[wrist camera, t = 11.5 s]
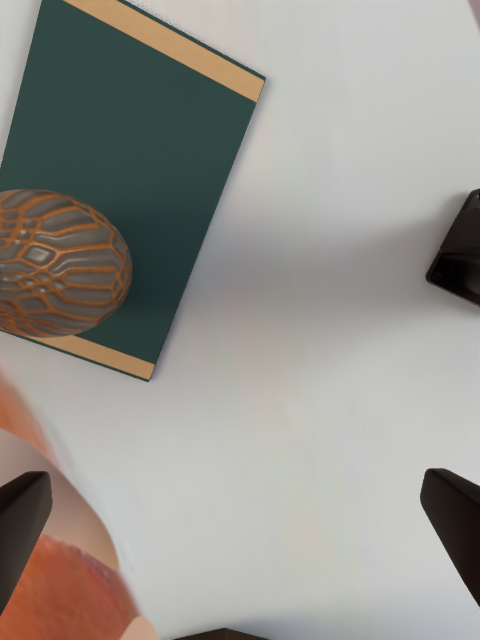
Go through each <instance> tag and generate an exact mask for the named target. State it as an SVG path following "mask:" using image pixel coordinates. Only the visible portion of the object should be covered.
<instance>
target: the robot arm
mask: <svg viewBox="0 0 480 640" xmlns="http://www.w3.org/2000/svg"><path fill="white" fill-rule="evenodd" d="M478 195H479V200H478V199H477V196H478ZM435 273H436V278H435V279H434V275H435ZM426 280H427V282H429V283H430V284H432V285H434V286H437V287H439V288H441V289H443V290H445V291H447V292H449V293H451V294H453V295H456V296H458V297H460V298H462V299H464V300H466V301H468V302H470V303H472V304H475V305H477V306H479V307H480V189H476V190H473V191H472V192H471V193H470V194H469V196H468V198H467V200H466V202H465V203H464V205H463V207H462V209H461V211H460V213H459V214H458V215H457V217H456V219H455V221H454V223H453V225H452V226H451V228H450V230H449V232H448V234H447V236H446V238H445V239H444V241H443V243H442V245H441V247H440V250H439V252H438V254H437V255H436V257H435V259H434V261H433V263H432V265H431V267H430V268H429V270H428V272H427V274H426ZM420 501H421V504H422V507H423V509H424V511H425V513H426V515H427V516H428V518H429V520H430V522H431V524H432V526H433V527H434V529H435V531H436V533H437V535H438V536H439V538H440V540H441V542H442V544H443V546H444V547H445V549H446V551H447V553H448V555H449V557H450V558H451V560H452V562H453V564H454V566H455V568H456V569H457V571H458V573H459V575H460V576H461V578H462V580H463V582H464V583H465V585H466V586H467V588H468V590H469V591H470V593H471V595H472V596H473V598H474V599H475V601H476V602H477V604H478V605H479V607H480V486H478V485H476V484H474V483H472V482H470V481H468V480H467V479H465V478H463V477H461V476H459V475H457V474H455V473H453V472H451V471H449V470H447V469H443V468H430V469H427V471H426V472H425V475H424V479H423V484H422V489H421V493H420ZM52 503H53V500H52V490H51V480H50V475H49V473H48V472H46V471H29V472H26V473H24V474H22V475H20V476H19V477H17V478H15V479H14V480H12V481H10V482H8V483H7V484H5V485H3V486H2V487H0V616H1V614H2V612H3V610H4V609H5V607H6V605H7V603H8V601H9V599H10V597H11V595H12V593H13V591H14V589H15V587H16V585H17V583H18V581H19V579H20V577H21V575H22V573H23V570H24V568H25V566H26V564H27V562H28V560H29V558H30V555H31V553H32V551H33V549H34V547H35V545H36V543H37V541H38V538H39V536H40V534H41V532H42V530H43V527H44V526H45V523H46V521H47V519H48V517H49V515H50V512H51V509H52Z"/></svg>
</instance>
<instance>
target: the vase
mask: <svg viewBox="0 0 480 640" xmlns="http://www.w3.org/2000/svg"><path fill="white" fill-rule="evenodd" d="M131 281H132V260H131V255H130V252H129V249H128V246H127V244H126V242H125V240H124V238H123V237H122V235H121V234H120V232H119V231H118V230H117V228H116V227H115V226H114V225H113V224H112V222H111V221H110V220H109V219H108V218H106V217H105V216H104V215H103V214H102V213H100V212H99V211H97V210H96V209H94V208H93V207H91V206H89V205H88V204H86V203H84V202H82V201H80V200H78V199H75V198H73V197H70V196H67V195H64V194H61V193H58V192H53V191H48V190H41V189H17V190H8V191H3V192H0V329H1V330H4V331H6V332H9V333H13V334H17V335H22V336H27V337H37V338H54V337H64V336H69V335H74V334H78V333H81V332H84V331H86V330H89V329H91V328H93V327H95V326H97V325H98V324H100V323H102V322H103V321H105V320H106V319H107V318H109V317H110V316H111V315H112V314H113V313H114V312H115V311H116V310H117V309H118V308H119V307H120V306H121V304H122V303H123V301H124V299H125V298H126V296H127V294H128V291H129V289H130V285H131Z"/></svg>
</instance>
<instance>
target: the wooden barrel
mask: <svg viewBox="0 0 480 640" xmlns="http://www.w3.org/2000/svg"><path fill="white" fill-rule="evenodd" d="M176 640H268V639H264V638H260V637H256V636H252V635H249V634H245V633H241V632H237V631H233V630H229V629H226V628H224V629H219V630H215V631H211V632H206V633H202V634H198V635H193V636H189V637H185V638H180V639H176Z"/></svg>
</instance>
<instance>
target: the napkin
mask: <svg viewBox="0 0 480 640" xmlns="http://www.w3.org/2000/svg"><path fill="white" fill-rule="evenodd" d="M265 79H266V77H264V76H262V75H260V74H259V73H257V72H255V71H253V70H251V69H249V68H248V67H246V66H244V65H242V64H240V63H238V62H237V61H235V60H233V59H231V58H229V57H227V56H226V55H224V54H222V53H220V52H218V51H217V50H215V49H213V48H211V47H209V46H207V45H206V44H204V43H202V42H200V41H198V40H196V39H195V38H193V37H191V36H189V35H187V34H185V33H184V32H182V31H180V30H178V29H176V28H174V27H173V26H171V25H169V24H167V23H165V22H163V21H162V20H160V19H158V18H156V17H154V16H153V15H151V14H149V13H147V12H145V11H143V10H142V9H140V8H138V7H136V6H134V5H132V4H131V3H129V2H127V1H125V0H42V2H41V6H40V10H39V14H38V18H37V22H36V27H35V31H34V35H33V39H32V43H31V47H30V51H29V55H28V59H27V63H26V67H25V71H24V75H23V79H22V83H21V87H20V91H19V95H18V99H17V103H16V107H15V111H14V115H13V119H12V123H11V128H10V132H9V136H8V140H7V144H6V148H5V152H4V156H3V160H2V164H1V168H0V192H3V191H8V190H17V189H41V190H48V191H53V192H58V193H61V194H64V195H67V196H70V197H73V198H75V199H78V200H80V201H82V202H84V203H86V204H88V205H89V206H91V207H93V208H94V209H96V210H97V211H99V212H100V213H102V214H103V215H104V216H105V217H106V218H108V219H109V220H110V221H111V222H112V224H113V225H114V226H115V227H116V228H117V230H118V231H119V232H120V234H121V235H122V237H123V238H124V240H125V242H126V244H127V246H128V249H129V252H130V255H131V260H132V281H131V285H130V289H129V291H128V294H127V296H126V298H125V299H124V301H123V303H122V304H121V306H120V307H119V308H118V309H117V310H116V311H115V312H114V313H113V314H112V315H111V316H110V317H109V318H107V319H106V320H105V321H103V322H102V323H100V324H98V325H97V326H95V327H93V328H91V329H89V330H86V331H84V332H81V333H78V334H74V335H69V336H64V337H54V338H37V337H27V336H22V335H17V334H13V333H9V332H6V331H4V330H1V329H0V331H3V332H5V333H8V334H11V335H14V336H17V337H20V338H23V339H25V340H28V341H31V342H34V343H37V344H40V345H43V346H46V347H48V348H51V349H54V350H57V351H60V352H63V353H66V354H69V355H71V356H74V357H77V358H80V359H83V360H86V361H89V362H92V363H94V364H97V365H100V366H103V367H106V368H109V369H112V370H115V371H117V372H120V373H123V374H126V375H129V376H132V377H135V378H138V379H140V380H143V381H146V382H149V380H150V377H151V375H152V372H153V369H154V367H155V364H156V362H157V359H158V356H159V354H160V351H161V349H162V346H163V344H164V341H165V338H166V336H167V333H168V331H169V328H170V325H171V323H172V320H173V318H174V315H175V312H176V310H177V307H178V305H179V302H180V300H181V297H182V294H183V292H184V289H185V287H186V284H187V281H188V279H189V276H190V274H191V271H192V268H193V266H194V263H195V261H196V258H197V256H198V253H199V250H200V248H201V245H202V243H203V240H204V237H205V235H206V232H207V230H208V227H209V224H210V222H211V219H212V217H213V214H214V212H215V209H216V206H217V204H218V201H219V199H220V196H221V193H222V191H223V188H224V186H225V183H226V180H227V178H228V175H229V173H230V170H231V168H232V165H233V162H234V160H235V157H236V155H237V152H238V149H239V147H240V144H241V142H242V139H243V136H244V134H245V131H246V129H247V126H248V124H249V121H250V118H251V116H252V113H253V111H254V108H255V105H256V103H257V100H258V98H259V95H260V92H261V90H262V87H263V85H264V82H265Z"/></svg>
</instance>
